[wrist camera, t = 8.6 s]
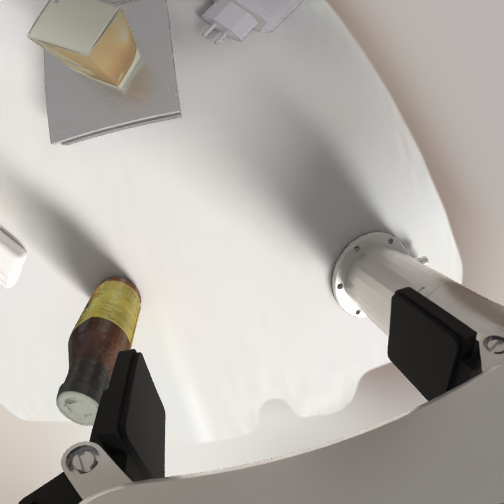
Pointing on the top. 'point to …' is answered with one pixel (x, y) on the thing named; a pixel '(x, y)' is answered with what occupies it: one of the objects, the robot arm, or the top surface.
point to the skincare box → (88, 39)
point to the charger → (246, 16)
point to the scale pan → (109, 98)
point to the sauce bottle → (98, 347)
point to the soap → (10, 260)
